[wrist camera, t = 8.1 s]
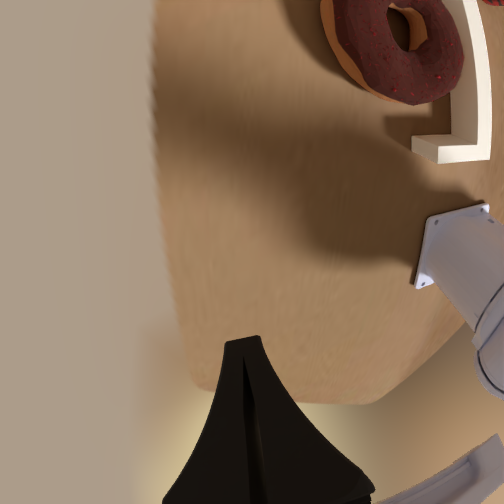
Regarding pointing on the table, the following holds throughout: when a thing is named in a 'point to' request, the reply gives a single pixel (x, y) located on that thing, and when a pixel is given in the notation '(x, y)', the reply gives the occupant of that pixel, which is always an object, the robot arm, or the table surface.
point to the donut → (395, 48)
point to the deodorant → (494, 2)
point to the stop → (465, 96)
